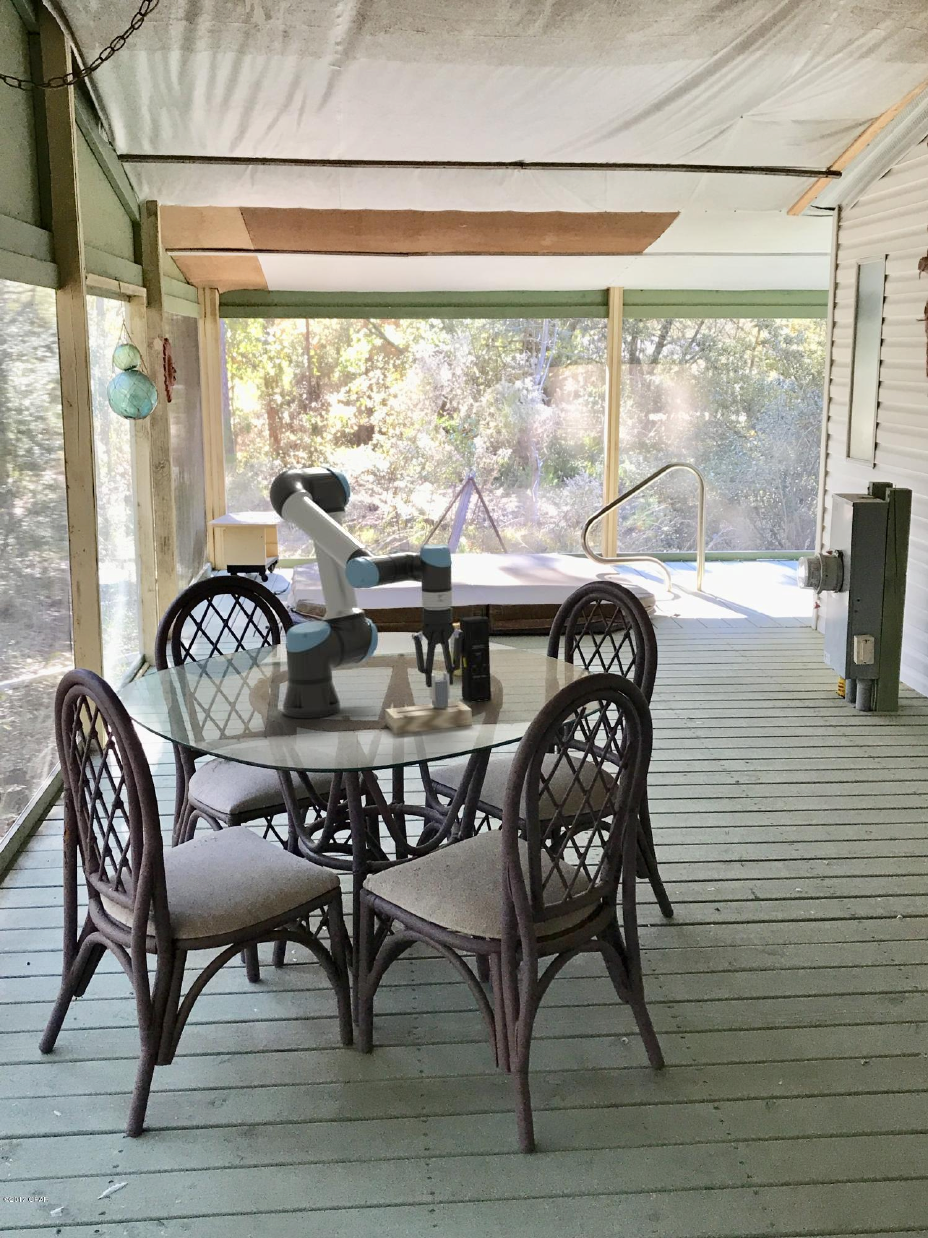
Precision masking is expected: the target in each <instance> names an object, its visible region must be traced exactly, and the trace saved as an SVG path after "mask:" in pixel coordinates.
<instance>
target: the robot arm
mask: <svg viewBox="0 0 928 1238" xmlns="http://www.w3.org/2000/svg"><path fill="white" fill-rule="evenodd" d="M350 498H351V486H350V483H349V480H348V478H347V477H346V476H345V474H344V473H343V472H341V471H340V470H339V468H336V467H332V466H316V467H308V468H306V467H305V468H293V469H286V470H284V471H282V472H280V473H279V474H278V475H277V476H276V477H275V478H274V479H273V481H272V483H271V485H270V489H269V501H270V503H271V507H272V508H273V510H274V512H275V513H276V514H277V515H278V516H279V517H280V518H281V520H283V521H285V522H286V524H287V523H288V524H293V525H295V526H296V527H297V528H298V529H300V531H302V532H303V533H304V534H305V535H306V536H307V537H308V538H309V539H311V540H312V542H313V547H314V553H315V558H316V564H317V569H318V573H319V574H318V575H319V580H320V585H321V589H322V596H323V599H324V605H325V609H326V612H325V614H324V616H323V617H322V621H321V620H315V621H314V620H313V621H308V622H302V623H298V624H296V625H293V626H292V627H290V628H288V630H287V632H286V635H285V637H286V638H285V639H286V640H285V650H286V662H287V681H288V682H287V683H288V684H287V688H286V692H285V695H284V696H285V697H284V699H283V703H282V712H283V714H284V715H285V716H287V717H290V718H296V719H317V718H324V717H329V716H332V715H336V714H337V713H339V712H340V711H341V700H340V698H339V696H338V693H337V691H336V687H335V685H334V682H333V681H334V680H333V669H334V668H335V669H336V668H339V667H343V666H348V665H352V664H359V663H362V662H363V661H367V660H368V659H370V658H371V657H372V656H373V655H374V654H375V652H376V650H377V648H378V644H379V643H378V642H379V633H378V629H377V626H376V625H375V623H374V622H373V621H372V619H370V618H367V617H366V613H365V610H364V609H362V608H360V607H359V606H358V601H357V595H356V591H355V589H371V588H375V587H379V586H384V585H391V584H395V583H402V582H403V583H404V582H407V581H409V582H417V583H421V606H422V607H423V609H422V610H421V611H422V612H421V613H422V626H421V629H420V631H419V632H418V633H413V634H412V635H411V638H412V639H411V640H413V642H414V647H415V655H416V656H415V657H416V658H415V659H416V665H417V671H418V672H419V673H420V674H424V675H425V685H426V686H425V687H426V688H429V699H431V701H432V700H433V701H434V700H436V692H435V678H436V675H435V674H434V673H433V669H434V660H435V652H436V648H437V645H439V644H440V645H441V650H442V655H443V661H444V665H445V670H446V671H442V674H443V675H442V677H443V678H444V679H446V680H447V685H448V700H450V699H451V697H450V696H451V693H450V692H451V691H450V690H451V688H450V686H453V684H454V674H453V673H454V671H456V670H459V669H460V660H461V643H462V639H463V636H464V632H462V631H461V630H456V629H455V628H454V626H453V624H454V623H453V622H454V621H453V619H454V618H453V608H452V607H451V606H452V605H453V595H452V593H453V592H452V588H453V587H452V564H453V561H452V555H451V548H450V547H449V546H448V545H446V544H425V545H423V546H421V547H420V551H413V550H406V549H393V550H390V552H388V553H384V554H377V555H376V554H375V553H373V552H372V551H371V550H370V549H369V548H367V547H366V546H365V545H364V544H363V543H362V542H360V540H358V539H357V538H355V537H354V536H353V535H352V534H351V533H350V532H349V531H348V530H347V529H345V528H344V527H343V522H342V519H343V518H344V516H345V514H346V506H347V505H348V504H349V502H350ZM453 633H454V635H453V636H454V637H455V638H454V651H453V665H452V660H451V648H450V642H449V640H450V637H451V636H452V634H453ZM423 637H424V639H425V640H427V644H426V645H427V650H426V658H424V650H423V644H422V641H423ZM425 659H426V660H425Z"/></svg>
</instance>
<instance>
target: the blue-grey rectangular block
mask: <svg viewBox="0 0 928 1238" xmlns="http://www.w3.org/2000/svg"><path fill="white" fill-rule="evenodd" d="M435 692H436V700H434V701H433V700H432V699H431V704H432V706H434V707H435V708H436V709H442V708H448V702H449V699H448V685H447V680H446V679H444V678H443V676H441V677H435Z"/></svg>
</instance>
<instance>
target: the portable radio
mask: <svg viewBox="0 0 928 1238" xmlns="http://www.w3.org/2000/svg"><path fill="white" fill-rule="evenodd" d="M489 621H490V620H489V617H487V616H484V607H481V614H480V615H478V616H469V617H459V623H460V630H461V631H462V632H464V636H463V639H462V643H461V666H462V675H461V698H462V697H463V698H462V699H463V700H464V699H465V700H464V701H466V702H468V703H472V702H471V701H476V702H479V701H478V700H483V701H486V700H485V699H490V700H492V688H491V687H492V686H491V685H492V683H491V664H490V663H491V661H490V659H491V657H490V656H491V655H490V625H489V623H490V622H489Z"/></svg>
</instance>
